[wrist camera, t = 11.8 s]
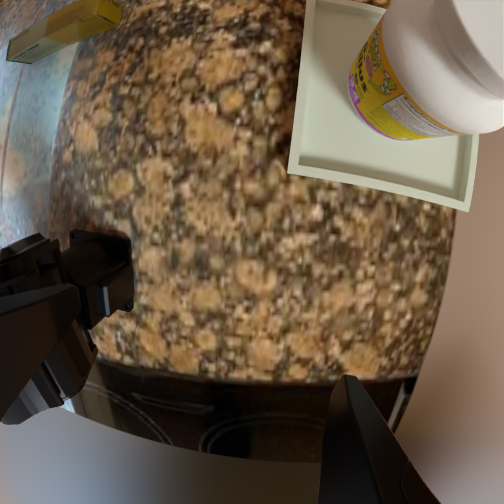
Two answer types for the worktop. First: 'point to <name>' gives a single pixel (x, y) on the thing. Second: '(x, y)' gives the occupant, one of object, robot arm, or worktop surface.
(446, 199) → the tray
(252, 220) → the worktop surface
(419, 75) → the supplement bottle
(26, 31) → the medication box
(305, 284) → the worktop surface
